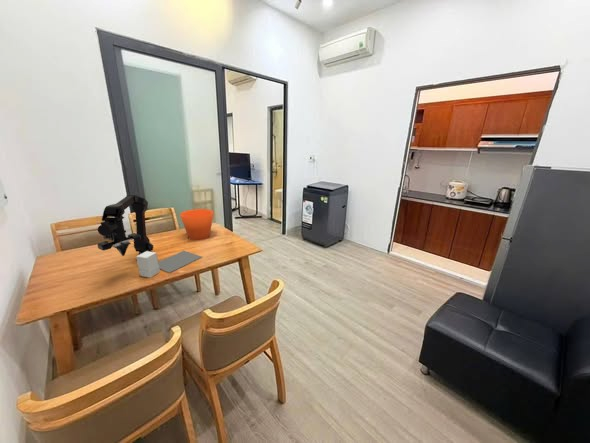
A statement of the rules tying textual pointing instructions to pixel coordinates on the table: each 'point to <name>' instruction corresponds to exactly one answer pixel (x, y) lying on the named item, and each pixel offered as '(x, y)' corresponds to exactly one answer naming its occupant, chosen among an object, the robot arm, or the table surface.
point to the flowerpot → (197, 223)
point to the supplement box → (148, 264)
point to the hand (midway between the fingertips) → (123, 255)
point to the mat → (177, 261)
